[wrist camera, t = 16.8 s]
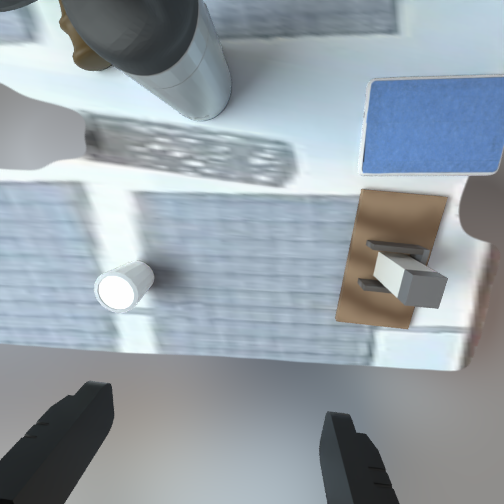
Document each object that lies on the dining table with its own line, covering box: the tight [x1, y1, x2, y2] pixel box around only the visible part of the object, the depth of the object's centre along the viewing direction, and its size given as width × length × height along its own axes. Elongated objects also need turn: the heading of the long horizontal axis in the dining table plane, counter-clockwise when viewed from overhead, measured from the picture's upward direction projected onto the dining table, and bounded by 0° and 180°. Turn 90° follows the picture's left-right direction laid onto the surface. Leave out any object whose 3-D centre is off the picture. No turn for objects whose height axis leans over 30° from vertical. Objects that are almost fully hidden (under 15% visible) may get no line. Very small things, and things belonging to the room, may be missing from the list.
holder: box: [335, 189, 448, 329], centre depth 39 cm, size 22×12×4 cm, turn 175°
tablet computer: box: [357, 74, 504, 176], centre depth 35 cm, size 19×13×1 cm, turn 90°
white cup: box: [94, 261, 154, 313], centre depth 41 cm, size 7×7×7 cm
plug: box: [373, 252, 448, 309], centre depth 35 cm, size 4×4×10 cm
